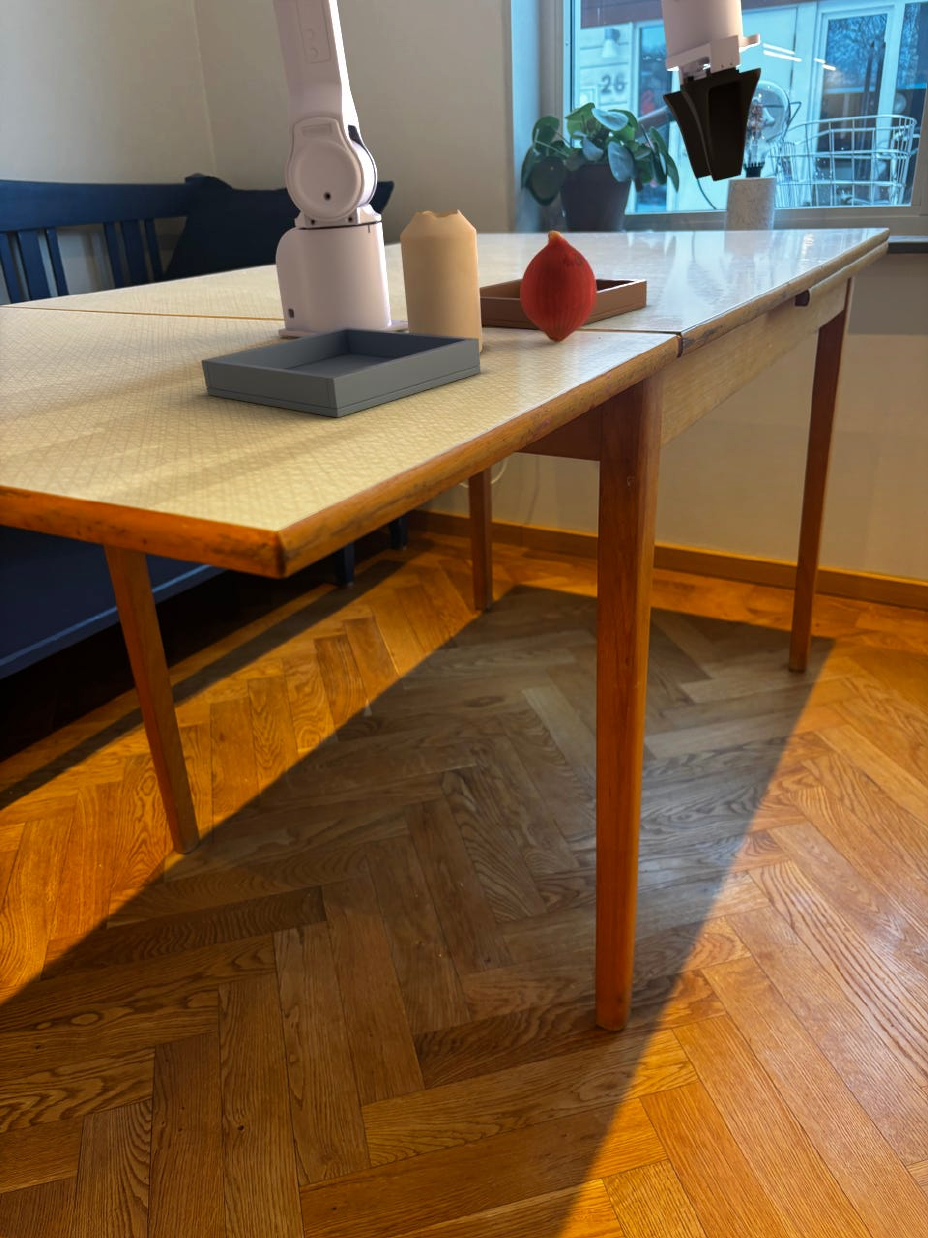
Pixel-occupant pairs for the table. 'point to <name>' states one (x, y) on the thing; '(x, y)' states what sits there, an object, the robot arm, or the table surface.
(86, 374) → the table surface
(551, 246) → the onion
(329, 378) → the gray tray
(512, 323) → the walnut tray
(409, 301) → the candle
